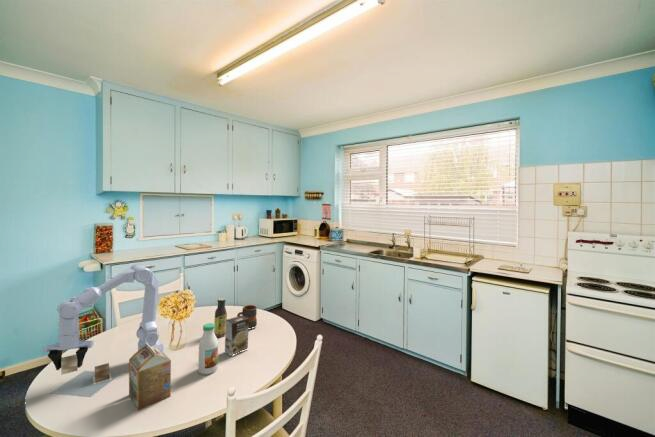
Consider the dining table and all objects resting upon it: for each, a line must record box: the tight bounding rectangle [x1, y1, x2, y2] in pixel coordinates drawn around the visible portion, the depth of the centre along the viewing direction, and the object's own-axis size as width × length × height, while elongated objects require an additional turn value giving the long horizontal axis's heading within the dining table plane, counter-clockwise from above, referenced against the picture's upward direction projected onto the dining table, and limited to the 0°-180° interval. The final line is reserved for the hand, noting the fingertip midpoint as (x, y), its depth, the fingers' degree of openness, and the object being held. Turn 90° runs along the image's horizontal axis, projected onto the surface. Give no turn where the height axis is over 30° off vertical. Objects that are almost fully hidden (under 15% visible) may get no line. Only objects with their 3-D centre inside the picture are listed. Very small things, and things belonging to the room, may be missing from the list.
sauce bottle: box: [213, 297, 228, 338], centre depth 158 cm, size 7×6×20 cm
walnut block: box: [94, 362, 111, 383], centre depth 117 cm, size 4×4×4 cm
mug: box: [236, 304, 258, 328], centre depth 169 cm, size 9×12×12 cm
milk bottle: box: [198, 322, 219, 375], centre depth 126 cm, size 8×8×20 cm
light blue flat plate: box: [50, 370, 121, 398], centre depth 114 cm, size 16×15×1 cm
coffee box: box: [224, 315, 249, 355], centre depth 143 cm, size 9×6×16 cm
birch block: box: [60, 353, 78, 376], centre depth 110 cm, size 4×4×4 cm
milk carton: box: [128, 342, 172, 411], centre depth 108 cm, size 11×11×19 cm
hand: (69, 367), depth 110 cm, fingers closed on birch block, 6 cm apart
